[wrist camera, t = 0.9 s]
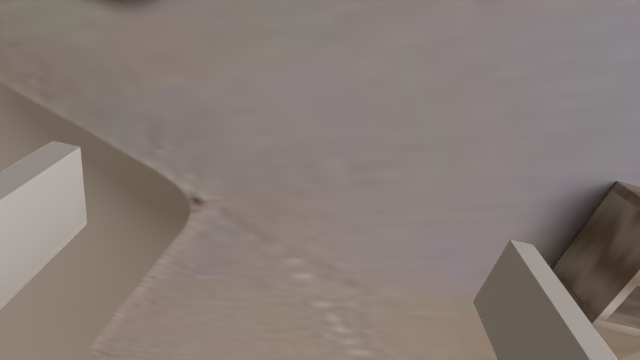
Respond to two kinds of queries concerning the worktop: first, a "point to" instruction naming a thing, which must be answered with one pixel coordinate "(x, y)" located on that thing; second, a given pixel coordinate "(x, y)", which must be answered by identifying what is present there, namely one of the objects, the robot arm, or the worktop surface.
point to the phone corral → (607, 263)
